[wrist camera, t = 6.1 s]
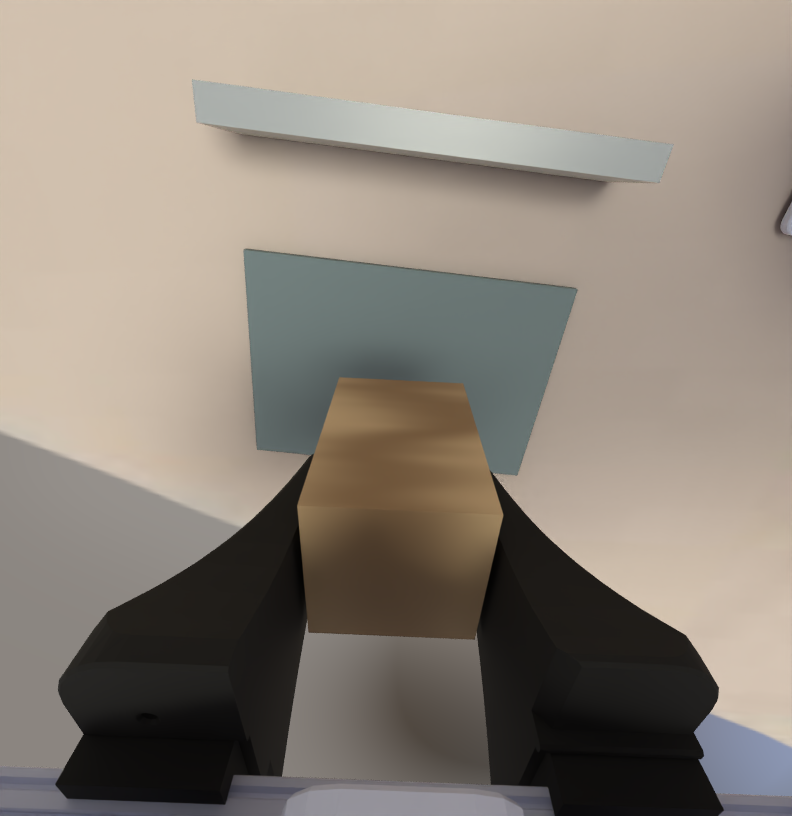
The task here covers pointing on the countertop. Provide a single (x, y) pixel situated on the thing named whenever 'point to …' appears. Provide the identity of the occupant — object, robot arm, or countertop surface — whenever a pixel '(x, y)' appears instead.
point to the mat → (397, 343)
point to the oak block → (398, 513)
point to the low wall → (428, 134)
